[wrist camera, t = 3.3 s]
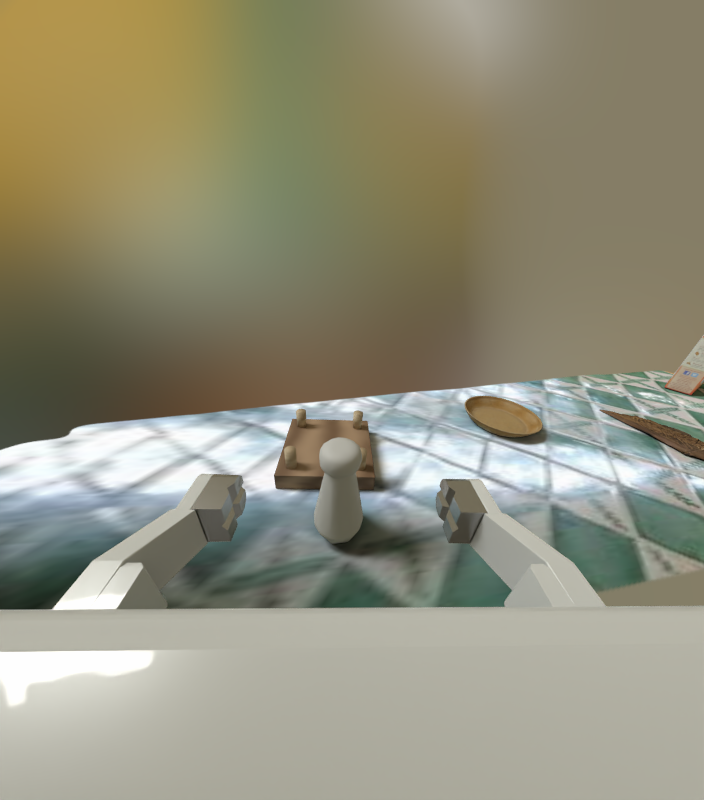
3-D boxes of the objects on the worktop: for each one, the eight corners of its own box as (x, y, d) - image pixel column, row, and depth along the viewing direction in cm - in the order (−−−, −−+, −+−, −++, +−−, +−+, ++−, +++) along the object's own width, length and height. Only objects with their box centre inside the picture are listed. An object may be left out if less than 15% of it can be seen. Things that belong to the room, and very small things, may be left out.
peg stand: (275, 488, 36) (271, 459, 33) (293, 429, 48) (291, 405, 46) (373, 489, 37) (377, 461, 34) (366, 431, 49) (368, 407, 46)
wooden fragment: (795, 480, 44) (800, 475, 43) (774, 498, 40) (780, 494, 39) (614, 407, 64) (616, 403, 64) (589, 414, 60) (591, 410, 60)
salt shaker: (350, 502, 35) (356, 425, 28) (369, 541, 30) (381, 458, 24) (308, 516, 32) (305, 435, 26) (322, 559, 28) (321, 474, 22)
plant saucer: (545, 425, 55) (550, 415, 53) (525, 455, 46) (530, 444, 44) (477, 399, 64) (480, 390, 63) (449, 419, 55) (452, 409, 53)
